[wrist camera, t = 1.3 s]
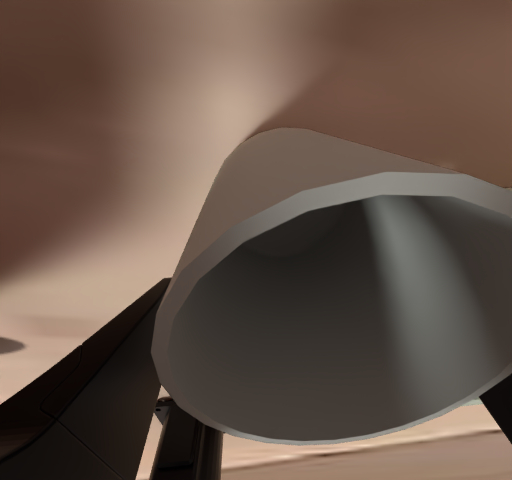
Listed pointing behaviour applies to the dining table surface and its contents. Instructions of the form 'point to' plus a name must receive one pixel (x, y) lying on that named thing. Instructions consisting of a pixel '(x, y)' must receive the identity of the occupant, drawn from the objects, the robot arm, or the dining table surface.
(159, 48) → the dining table surface
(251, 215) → the cup
